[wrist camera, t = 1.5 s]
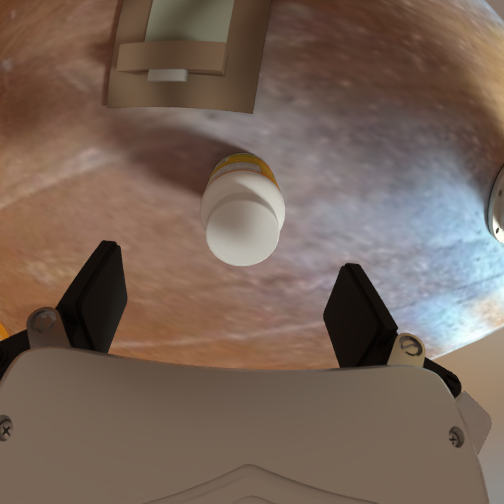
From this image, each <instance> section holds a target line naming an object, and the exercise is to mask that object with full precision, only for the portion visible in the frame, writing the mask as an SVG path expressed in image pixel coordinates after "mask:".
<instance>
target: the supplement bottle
mask: <svg viewBox="0 0 504 504" xmlns="http://www.w3.org/2000/svg"><path fill="white" fill-rule="evenodd" d="M284 218H285V205H284V201H283V197H282V194H281V192H280V190H279V187H278V185H277V182H276V180H275V177H274V175H273V173H272V171H271V169H270V167H269V166H268V165H267V164H266V162H264V161H263V160H262V159H261V158H259V157H257V156H255V155H252V154H248V153H236V154H232V155H230V156H227V157H225V158H224V159H222V160H221V161H220V162H219V163H218V164H217V165H216V166H215V168H214V169H213V171H212V173H211V176H210V178H209V181H208V184H207V186H206V189H205V192H204V194H203V197H202V200H201V205H200V219H201V223H202V226H203V229H204V230H205V236H206V241H207V244H208V246H209V248H210V250H211V251H212V252H213V254H214V255H215V256H216V257H217V258H219V259H220V260H222V261H224V262H226V263H228V264H231V265H236V266H248V265H253V264H256V263H259V262H261V261H263V260H264V259H266V258H267V257H268V256H269V255H270V254H271V253H272V252H273V250H274V249H275V247H276V245H277V243H278V240H279V231H280V230H281V228H282V225H283V222H284Z"/></svg>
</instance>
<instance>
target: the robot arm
mask: <svg viewBox="0 0 504 504" xmlns="http://www.w3.org/2000/svg"><path fill="white" fill-rule="evenodd" d="M488 224H489V229H490V232H491V234H492V236H493V237H494V238H495V239H496V240H498V241H499V242H501V243H504V167H503V168H502V170H501V171H500V173H499V175H498V177H497V179H496V181H495V184H494V187H493V190H492V193H491V197H490V202H489V209H488ZM126 304H127V291H126V285H125V278H124V271H123V263H122V255H121V248H120V246H119V245H117V243H116V242H115V241H105V240H103V241H102V242H101V243H100V244H99V246H98V247H97V248H96V250H95V251H94V252H93V254H92V255H91V256H90V258H89V259H88V260H87V262H86V263H85V265H84V266H83V267H82V269H81V270H80V272H79V273H78V274H77V276H76V277H75V279H74V280H73V282H72V283H71V285H70V286H69V288H68V289H67V291H66V292H65V294H64V295H63V297H62V299H61V300H60V302H59V303H58V305H57V307H56V308H52V307H42V308H39V309H37V310H35V311H34V312H33V313H31V315H30V316H29V317H28V320H27V324H26V327H27V329H26V330H24V331H22V332H19V333H17V334H15V335H13V336H10V337H8V338H6V339H4V340H1V341H0V504H490V503H489V498H488V493H487V488H486V484H485V480H484V476H483V472H482V468H481V465H480V461H479V458H478V454H479V452H480V450H481V448H482V445H483V444H484V442H485V440H486V437H487V435H488V433H489V431H490V429H491V425H492V423H491V418H490V416H489V414H488V413H487V412H486V411H485V410H484V409H483V408H482V407H481V406H480V405H479V404H478V403H477V402H476V401H475V400H474V399H473V398H472V397H471V396H470V395H469V394H468V393H467V392H466V391H464V392H463V393H462V392H461V383H460V381H459V379H458V377H457V376H456V375H455V374H453V373H452V372H450V371H448V370H447V369H445V368H443V367H442V366H440V365H438V364H436V363H434V362H433V361H431V360H429V359H428V358H426V357H425V353H426V350H425V346H424V344H423V343H422V341H421V340H420V339H419V338H417V337H416V336H414V335H412V334H410V333H401V334H399V335H398V333H397V332H396V331H397V329H398V327H397V325H396V323H395V321H394V320H393V318H392V316H391V314H390V313H389V311H388V309H387V308H386V306H385V304H384V303H383V301H382V299H381V298H380V296H379V294H378V293H377V291H376V289H375V288H374V286H373V285H372V283H371V281H370V280H369V278H368V277H367V275H366V274H365V272H364V270H363V269H362V267H361V266H360V265H359V264H353V263H346V264H345V266H342V267H341V269H340V271H339V274H338V277H337V280H336V282H335V285H334V287H333V290H332V293H331V295H330V298H329V300H328V303H327V305H326V308H325V310H324V314H323V319H324V322H325V325H326V328H327V330H328V333H329V336H330V339H331V342H332V345H333V348H334V351H335V354H336V357H337V360H338V363H339V366H340V368H331V369H302V370H264V369H235V368H218V367H205V366H194V365H183V364H174V363H166V362H158V361H151V360H144V359H138V358H131V357H125V356H119V355H113V354H108V351H109V348H110V345H111V343H112V340H113V337H114V334H115V332H116V329H117V327H118V324H119V321H120V319H121V316H122V314H123V311H124V309H125V307H126Z"/></svg>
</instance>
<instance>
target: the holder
mask: <svg viewBox="0 0 504 504" xmlns="http://www.w3.org/2000/svg"><path fill="white" fill-rule="evenodd" d="M271 3H272V0H124V1H123V5H122V9H121V14H120V18H119V23H118V27H117V32H116V38H115V43H114V49H113V56H112V62H111V70H110V78H109V88H108V99H107V108H121V107H181V108H200V109H213V110H224V111H234V112H242V113H250V114H253V109H254V103H255V96H256V90H257V84H258V78H259V72H260V66H261V60H262V54H263V48H264V42H265V36H266V31H267V25H268V19H269V14H270V8H271Z"/></svg>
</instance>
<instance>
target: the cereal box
mask: <svg viewBox="0 0 504 504" xmlns="http://www.w3.org/2000/svg"><path fill="white" fill-rule="evenodd" d="M8 337H9V335H8V334H7V332H6V331H5V329H4V327H3V326H2V324H1V322H0V341H1V340H4V339H6V338H8Z"/></svg>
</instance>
